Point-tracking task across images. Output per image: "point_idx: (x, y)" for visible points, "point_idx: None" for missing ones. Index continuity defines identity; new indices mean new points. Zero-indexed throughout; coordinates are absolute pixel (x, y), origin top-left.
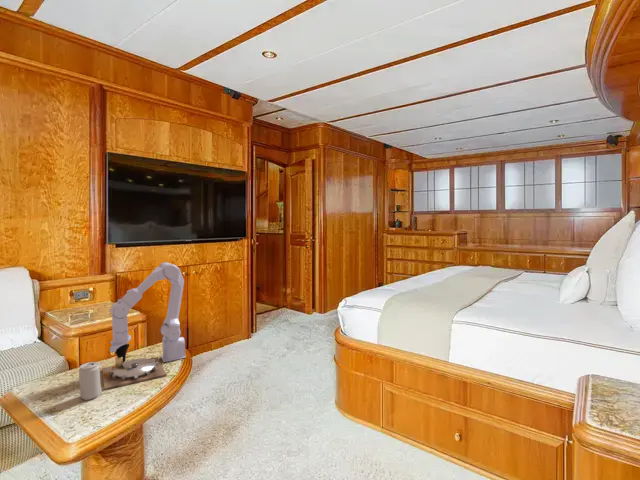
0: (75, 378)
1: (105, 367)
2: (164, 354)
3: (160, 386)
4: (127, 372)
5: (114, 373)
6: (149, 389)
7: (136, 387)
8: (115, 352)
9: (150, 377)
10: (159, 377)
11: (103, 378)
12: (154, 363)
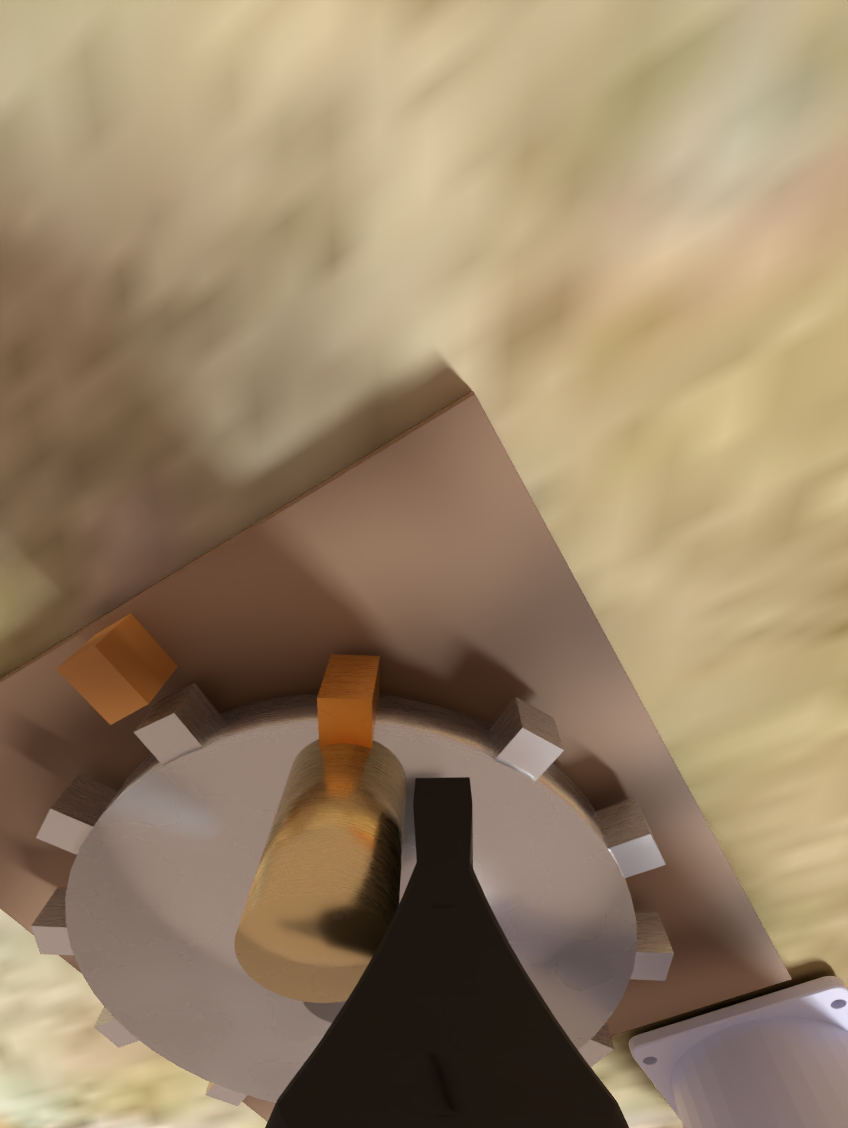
0: (66, 25)
1: (500, 447)
2: (726, 1122)
3: (94, 1120)
4: (149, 950)
5: (106, 809)
6: (23, 1076)
7: (28, 990)
8: (354, 988)
9: None
10: None
11: (81, 636)
12: None
